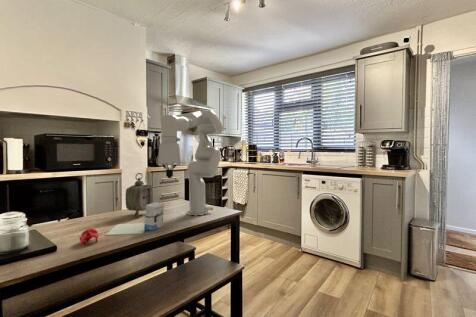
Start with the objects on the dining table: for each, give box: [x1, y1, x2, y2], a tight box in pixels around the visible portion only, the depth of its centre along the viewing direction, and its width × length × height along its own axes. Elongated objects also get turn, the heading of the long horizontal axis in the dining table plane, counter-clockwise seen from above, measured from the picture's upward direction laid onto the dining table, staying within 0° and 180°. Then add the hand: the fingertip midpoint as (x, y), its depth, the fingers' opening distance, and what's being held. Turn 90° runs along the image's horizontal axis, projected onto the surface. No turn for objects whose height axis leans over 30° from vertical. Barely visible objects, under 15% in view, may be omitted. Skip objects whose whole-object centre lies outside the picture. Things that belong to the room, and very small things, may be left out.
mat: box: [105, 222, 146, 237], centre depth 124 cm, size 16×16×1 cm
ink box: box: [144, 201, 165, 232], centre depth 125 cm, size 8×5×12 cm, turn 161°
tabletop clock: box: [125, 172, 153, 219], centre depth 150 cm, size 14×9×25 cm, turn 170°
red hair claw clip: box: [79, 228, 99, 245], centre depth 107 cm, size 8×6×6 cm
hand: (169, 177), depth 126 cm, fingers closed
